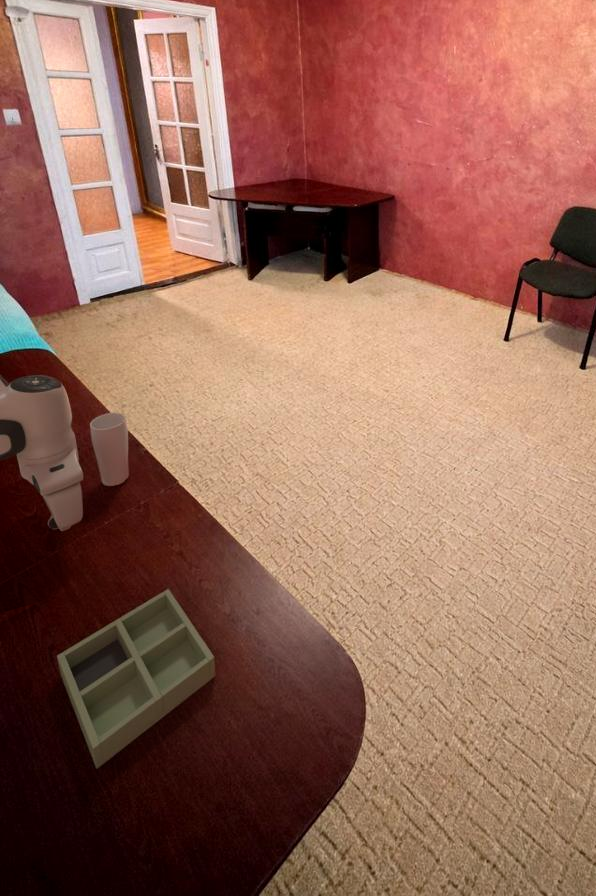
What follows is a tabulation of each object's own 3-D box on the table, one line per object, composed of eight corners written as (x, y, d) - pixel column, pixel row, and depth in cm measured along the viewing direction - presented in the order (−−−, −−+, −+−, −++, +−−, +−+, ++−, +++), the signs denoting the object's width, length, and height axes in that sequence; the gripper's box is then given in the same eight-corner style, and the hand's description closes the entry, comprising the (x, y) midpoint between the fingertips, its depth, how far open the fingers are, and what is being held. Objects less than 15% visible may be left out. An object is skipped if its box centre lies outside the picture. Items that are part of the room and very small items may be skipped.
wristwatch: (49, 536, 91) (45, 514, 90) (54, 518, 95) (50, 497, 94) (67, 531, 92) (64, 510, 91) (71, 514, 97) (68, 493, 95)
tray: (96, 769, 59) (92, 748, 58) (60, 674, 69) (56, 655, 67) (215, 676, 70) (214, 657, 69) (170, 605, 80) (168, 588, 78)
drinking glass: (95, 476, 107) (86, 418, 103) (129, 465, 111) (122, 409, 107) (101, 494, 102) (92, 433, 98) (136, 481, 107) (129, 423, 102)
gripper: (15, 439, 93) (27, 498, 98) (42, 494, 81) (55, 558, 85) (53, 427, 98) (63, 483, 102) (85, 477, 85) (95, 539, 89)
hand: (60, 518), depth 93 cm, fingers closed on wristwatch, 5 cm apart
